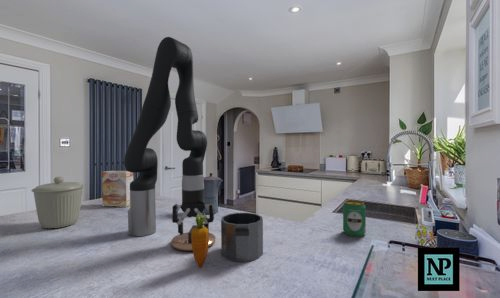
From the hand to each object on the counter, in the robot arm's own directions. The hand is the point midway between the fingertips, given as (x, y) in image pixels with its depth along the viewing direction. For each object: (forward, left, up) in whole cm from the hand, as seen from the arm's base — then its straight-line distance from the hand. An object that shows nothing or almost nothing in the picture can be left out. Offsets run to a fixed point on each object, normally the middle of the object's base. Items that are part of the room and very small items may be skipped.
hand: (193, 234), depth 89 cm
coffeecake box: (-53, +57, -4) cm, 78 cm away
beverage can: (+60, +7, -4) cm, 61 cm away
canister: (-62, +23, -4) cm, 66 cm away
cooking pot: (+17, -8, -3) cm, 19 cm away
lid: (0, 0, -4) cm, 4 cm away
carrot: (+5, -17, -4) cm, 18 cm away
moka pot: (0, +40, -4) cm, 40 cm away
